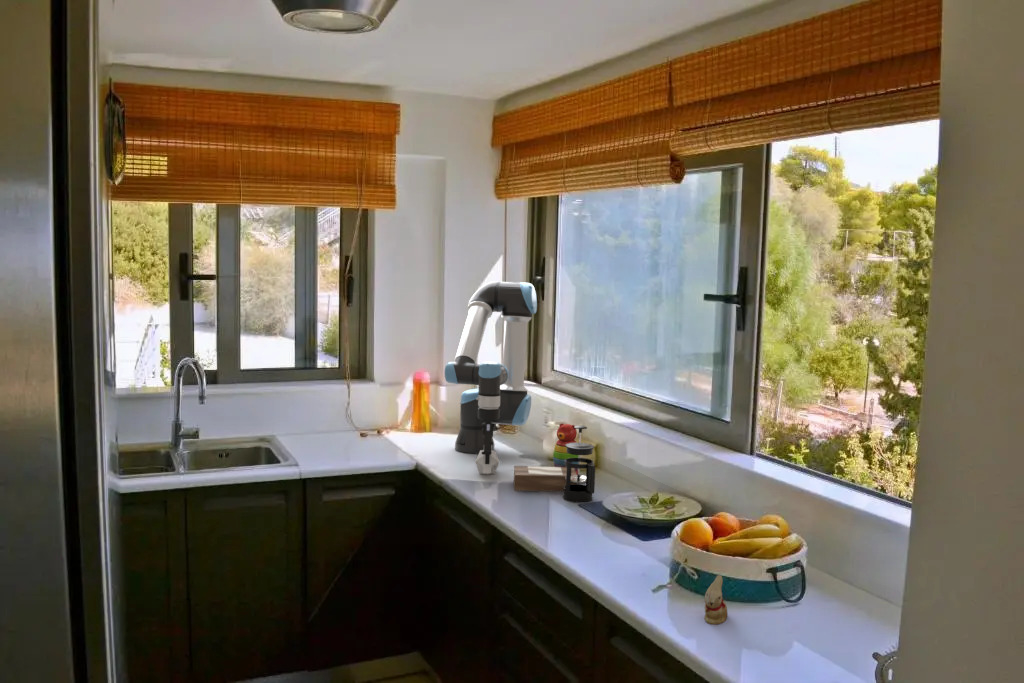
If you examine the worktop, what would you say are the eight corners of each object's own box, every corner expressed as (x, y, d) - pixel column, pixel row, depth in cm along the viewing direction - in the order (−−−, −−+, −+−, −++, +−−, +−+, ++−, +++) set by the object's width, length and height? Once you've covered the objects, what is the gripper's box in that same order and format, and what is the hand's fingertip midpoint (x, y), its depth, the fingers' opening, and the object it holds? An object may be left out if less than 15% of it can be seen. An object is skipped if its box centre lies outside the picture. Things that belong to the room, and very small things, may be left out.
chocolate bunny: (693, 618, 194) (695, 573, 193) (718, 610, 199) (720, 566, 198) (712, 627, 190) (714, 581, 189) (737, 619, 194) (740, 574, 193)
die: (490, 479, 305) (505, 455, 308) (468, 465, 306) (484, 442, 309) (490, 482, 313) (505, 458, 315) (469, 468, 314) (484, 445, 317)
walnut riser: (513, 480, 303) (514, 465, 302) (573, 481, 303) (573, 466, 303) (514, 490, 291) (515, 474, 290) (576, 491, 291) (577, 475, 291)
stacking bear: (543, 474, 312) (545, 423, 310) (562, 469, 319) (564, 420, 317) (568, 480, 305) (569, 428, 303) (586, 475, 312) (588, 424, 310)
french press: (555, 496, 285) (557, 424, 282) (576, 492, 291) (579, 421, 288) (581, 505, 276) (583, 431, 273) (602, 500, 282) (605, 428, 279)
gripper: (478, 401, 321) (476, 459, 323) (477, 413, 296) (475, 476, 298) (499, 401, 321) (497, 460, 323) (500, 414, 297) (498, 477, 299)
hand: (487, 468), depth 311 cm, fingers open, 13 cm apart
